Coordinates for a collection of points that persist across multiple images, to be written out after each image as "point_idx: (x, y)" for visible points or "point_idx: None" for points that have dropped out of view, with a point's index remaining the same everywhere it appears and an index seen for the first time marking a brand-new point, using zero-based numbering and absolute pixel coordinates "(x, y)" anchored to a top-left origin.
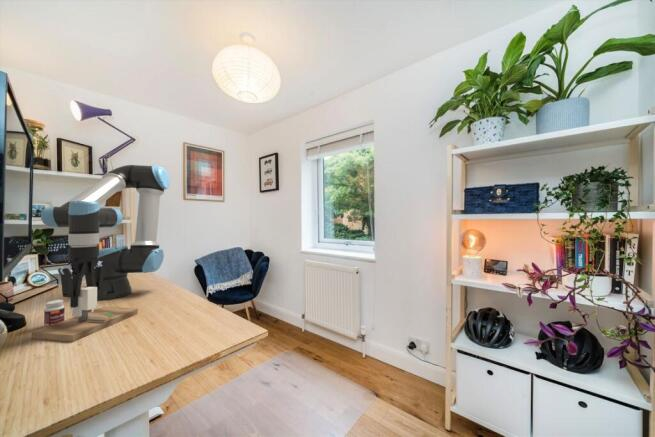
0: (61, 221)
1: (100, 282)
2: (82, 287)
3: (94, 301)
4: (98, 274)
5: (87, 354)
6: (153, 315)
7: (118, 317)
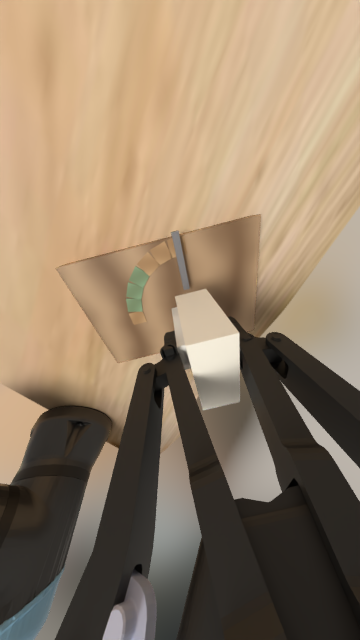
0: None
1: (144, 394)
2: (215, 386)
3: (187, 304)
4: (146, 463)
5: (325, 9)
6: (21, 181)
7: (127, 249)
